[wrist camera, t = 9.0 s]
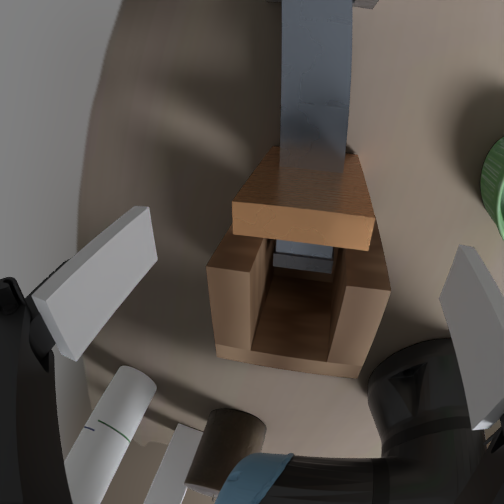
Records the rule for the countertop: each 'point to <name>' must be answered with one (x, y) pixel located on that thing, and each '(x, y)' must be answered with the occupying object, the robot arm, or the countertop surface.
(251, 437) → the pillar candle
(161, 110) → the countertop surface
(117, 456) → the cylindrical container
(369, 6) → the sleeve
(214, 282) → the socket
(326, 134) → the brown and grey block
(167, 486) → the milk
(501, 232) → the ramekin
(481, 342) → the robot arm
